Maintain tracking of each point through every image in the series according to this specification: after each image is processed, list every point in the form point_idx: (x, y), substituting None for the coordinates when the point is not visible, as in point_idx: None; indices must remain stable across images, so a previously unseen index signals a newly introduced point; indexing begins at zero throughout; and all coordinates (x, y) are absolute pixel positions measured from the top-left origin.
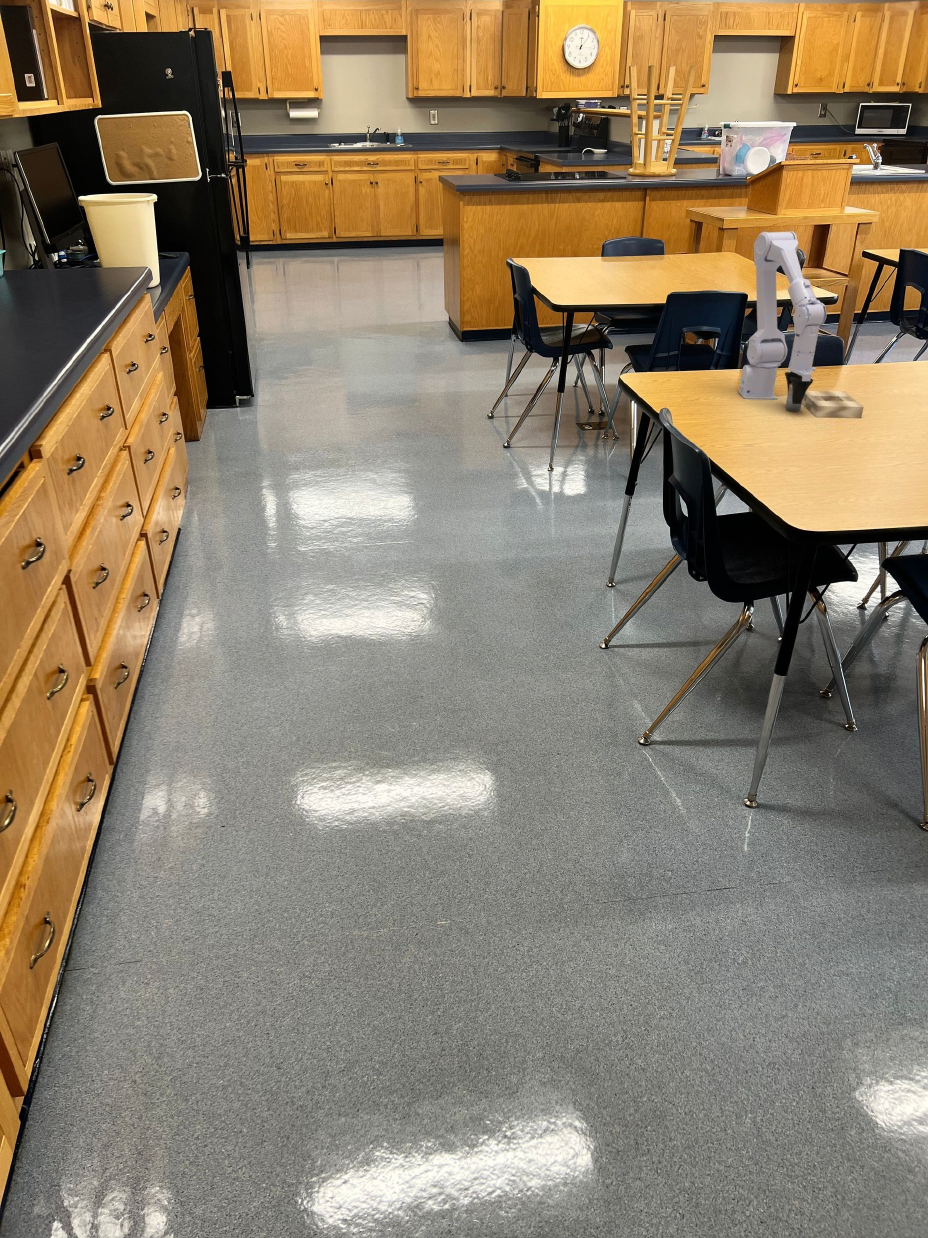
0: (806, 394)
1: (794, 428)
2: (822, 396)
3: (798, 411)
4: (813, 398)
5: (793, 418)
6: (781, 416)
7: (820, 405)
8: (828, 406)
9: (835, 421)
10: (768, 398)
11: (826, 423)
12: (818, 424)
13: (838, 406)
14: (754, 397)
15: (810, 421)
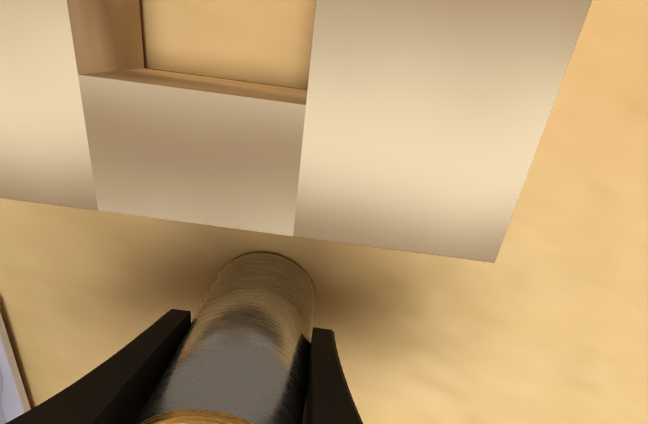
0: (52, 199)
1: (641, 413)
2: (77, 34)
3: (309, 278)
4: (209, 192)
5: (445, 350)
6: (392, 391)
7: (482, 232)
8: (531, 162)
9: (603, 97)
10: (7, 342)
11: (626, 197)
12: (625, 262)
13: (575, 40)
14: (22, 408)
15: (538, 283)
